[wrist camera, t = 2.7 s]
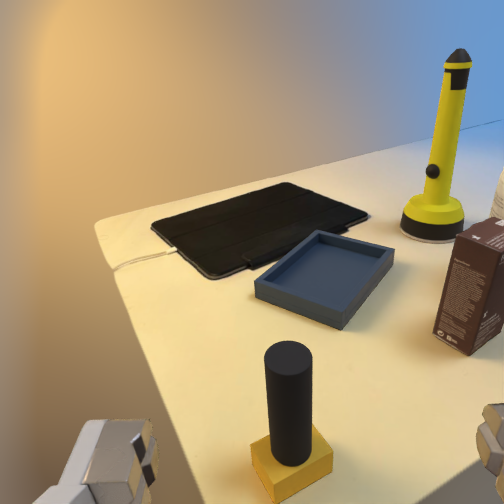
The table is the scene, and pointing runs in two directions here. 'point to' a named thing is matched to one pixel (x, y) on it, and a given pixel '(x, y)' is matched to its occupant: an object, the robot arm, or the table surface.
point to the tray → (325, 277)
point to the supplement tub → (498, 199)
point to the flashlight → (441, 163)
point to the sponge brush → (290, 425)
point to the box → (473, 288)
